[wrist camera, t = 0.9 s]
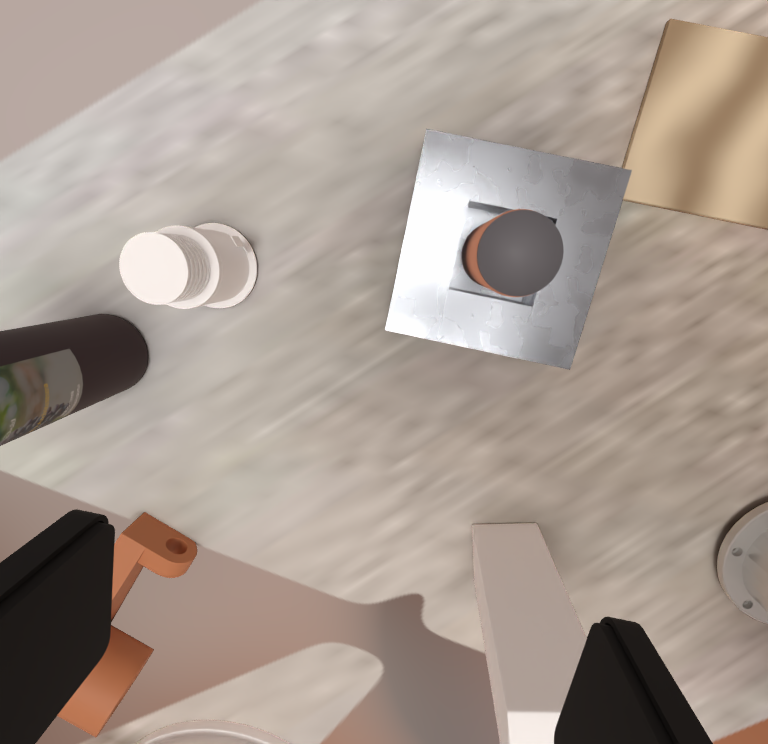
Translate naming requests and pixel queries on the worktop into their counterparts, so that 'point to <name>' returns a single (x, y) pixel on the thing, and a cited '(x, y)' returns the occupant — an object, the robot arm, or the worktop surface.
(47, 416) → the wine bottle
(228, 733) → the plate stack
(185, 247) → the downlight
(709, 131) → the plate
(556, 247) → the orange grey-topped cylinder
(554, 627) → the milk
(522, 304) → the bore housing
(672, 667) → the worktop surface
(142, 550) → the crank
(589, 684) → the robot arm
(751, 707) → the worktop surface
